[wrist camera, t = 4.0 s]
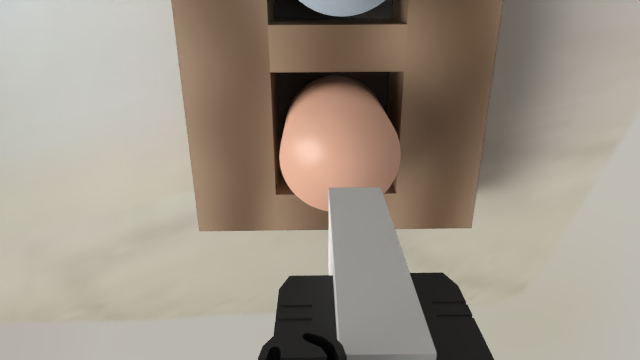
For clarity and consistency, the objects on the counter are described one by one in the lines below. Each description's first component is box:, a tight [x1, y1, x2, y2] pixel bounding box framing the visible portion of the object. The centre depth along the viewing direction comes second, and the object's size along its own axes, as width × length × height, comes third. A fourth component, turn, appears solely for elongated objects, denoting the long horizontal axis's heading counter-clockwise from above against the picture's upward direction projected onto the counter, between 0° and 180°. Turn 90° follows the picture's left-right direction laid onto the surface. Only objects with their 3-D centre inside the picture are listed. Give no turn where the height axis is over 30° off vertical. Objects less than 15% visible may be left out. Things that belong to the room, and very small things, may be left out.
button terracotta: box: [279, 75, 401, 211], centre depth 21 cm, size 5×5×5 cm
